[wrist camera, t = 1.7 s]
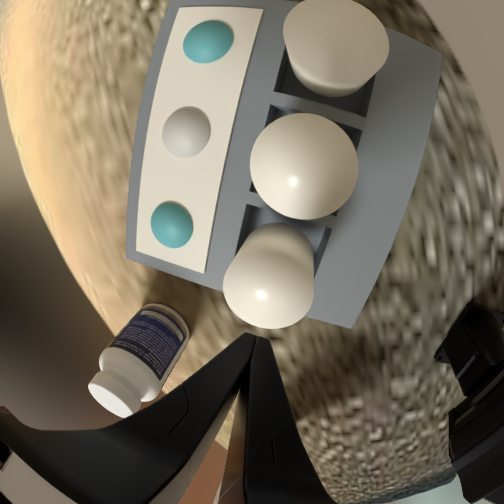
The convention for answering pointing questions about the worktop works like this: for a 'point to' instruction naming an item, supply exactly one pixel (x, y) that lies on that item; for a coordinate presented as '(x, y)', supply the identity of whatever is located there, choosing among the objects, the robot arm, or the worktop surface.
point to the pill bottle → (139, 359)
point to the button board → (242, 141)
